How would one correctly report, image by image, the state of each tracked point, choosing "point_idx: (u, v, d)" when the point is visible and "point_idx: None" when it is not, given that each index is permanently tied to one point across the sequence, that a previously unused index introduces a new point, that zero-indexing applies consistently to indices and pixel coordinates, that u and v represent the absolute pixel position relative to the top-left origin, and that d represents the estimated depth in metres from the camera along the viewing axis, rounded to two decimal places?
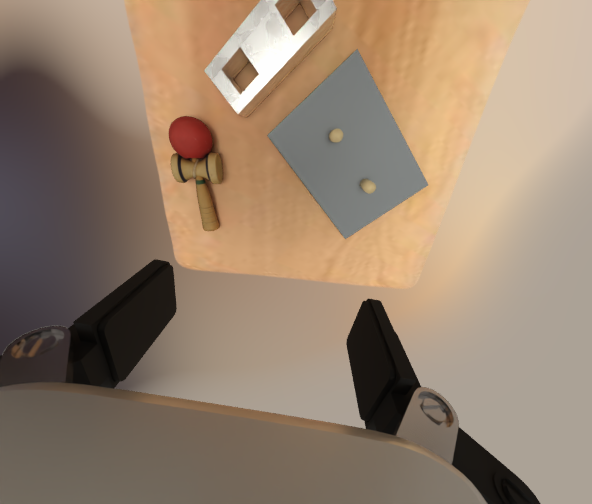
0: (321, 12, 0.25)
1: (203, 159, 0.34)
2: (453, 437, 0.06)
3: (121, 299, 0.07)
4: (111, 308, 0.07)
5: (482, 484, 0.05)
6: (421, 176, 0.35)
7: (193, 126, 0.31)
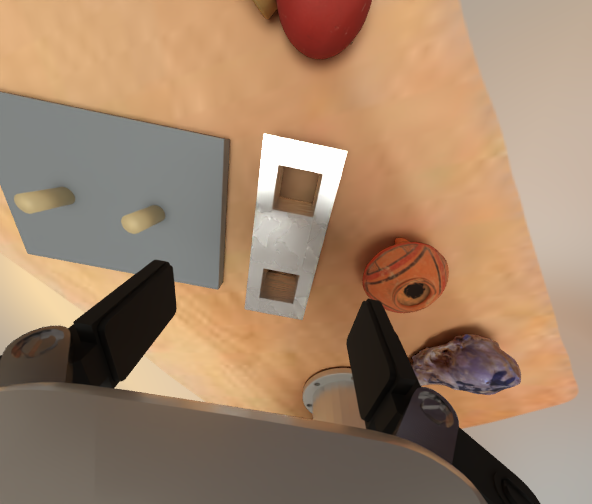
0: (254, 299, 0.22)
1: None
2: (453, 437, 0.06)
3: (121, 299, 0.07)
4: (111, 307, 0.07)
5: (482, 484, 0.05)
6: (44, 255, 0.25)
7: (319, 27, 0.13)
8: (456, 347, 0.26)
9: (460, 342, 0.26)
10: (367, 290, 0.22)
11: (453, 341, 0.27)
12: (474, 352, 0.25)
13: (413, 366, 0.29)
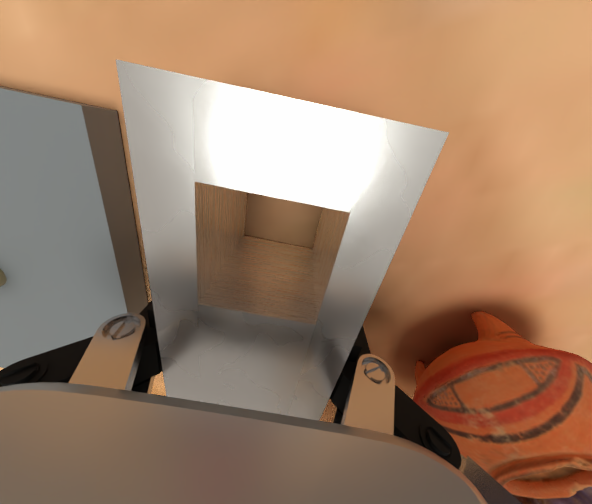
0: None
1: None
2: (392, 390, 0.07)
3: None
4: None
5: (412, 441, 0.06)
6: None
7: None
8: None
9: None
10: None
11: None
12: (588, 502, 0.14)
13: None
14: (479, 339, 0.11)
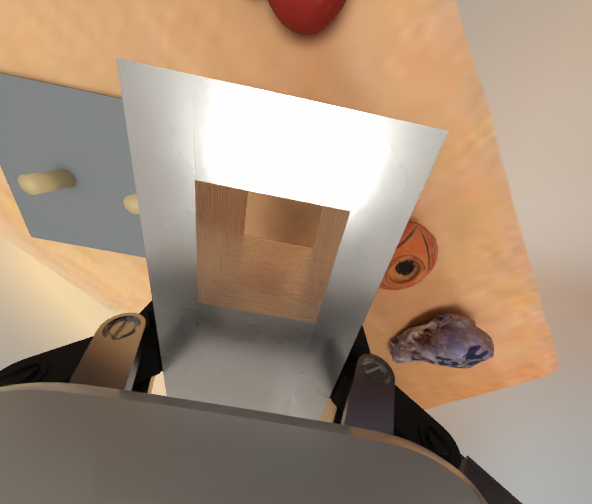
0: None
1: None
2: (392, 390, 0.07)
3: None
4: None
5: (411, 441, 0.06)
6: (47, 238, 0.26)
7: None
8: (436, 326, 0.28)
9: (439, 321, 0.28)
10: None
11: (433, 320, 0.28)
12: (452, 329, 0.27)
13: (397, 345, 0.31)
14: None
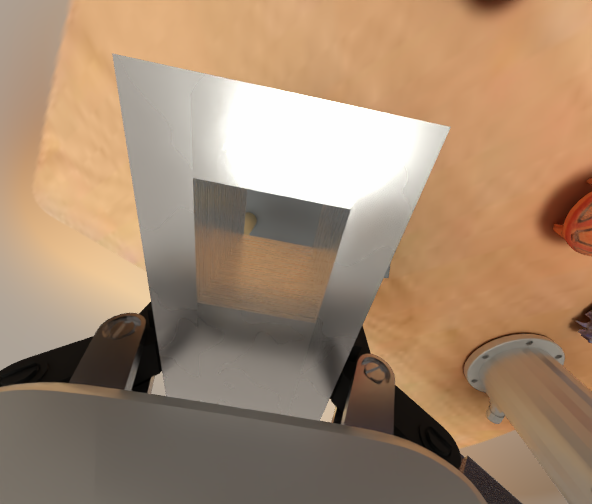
0: None
1: None
2: (392, 390, 0.07)
3: None
4: None
5: (411, 441, 0.06)
6: None
7: None
8: None
9: None
10: (576, 239, 0.20)
11: None
12: None
13: None
14: None
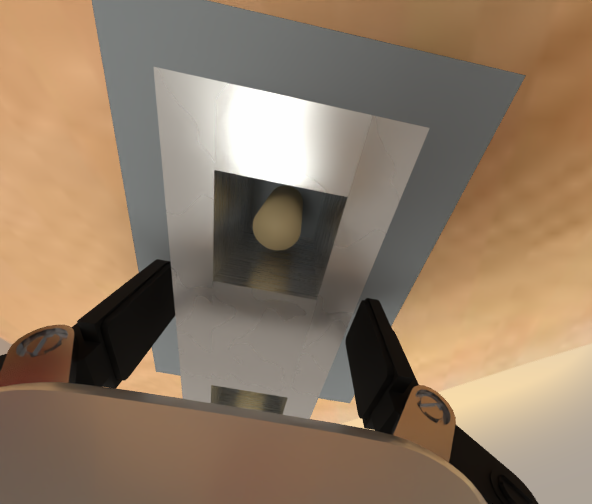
0: None
1: None
2: (451, 435, 0.06)
3: (124, 298, 0.07)
4: (114, 307, 0.07)
5: (478, 481, 0.05)
6: None
7: None
8: None
9: None
10: None
11: None
12: None
13: None
14: None
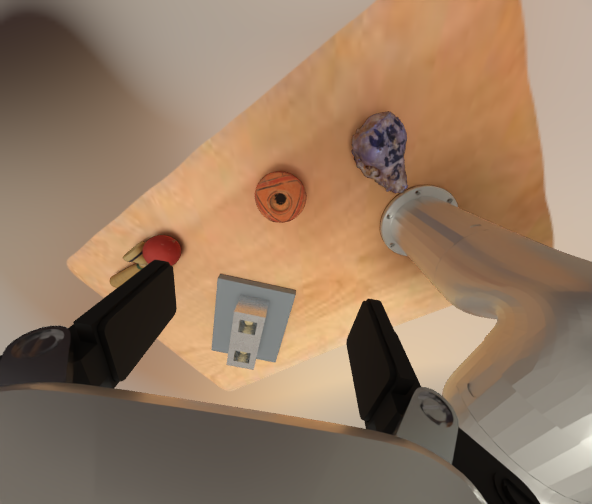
0: (231, 361, 0.47)
1: None
2: (453, 437, 0.06)
3: (121, 299, 0.07)
4: (111, 308, 0.07)
5: (482, 484, 0.05)
6: (275, 357, 0.54)
7: (168, 259, 0.38)
8: (361, 162, 0.32)
9: (356, 159, 0.32)
10: (287, 220, 0.35)
11: (356, 163, 0.33)
12: (359, 154, 0.31)
13: (385, 187, 0.34)
14: None
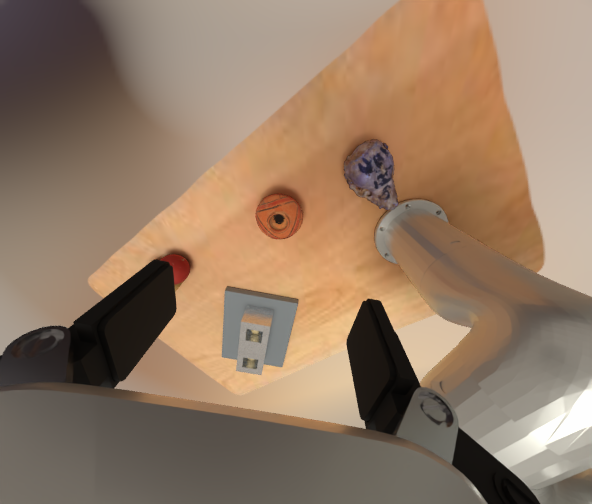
0: (240, 367, 0.51)
1: None
2: (453, 437, 0.06)
3: (121, 299, 0.07)
4: (111, 308, 0.07)
5: (482, 484, 0.05)
6: (282, 362, 0.57)
7: (179, 277, 0.42)
8: (353, 184, 0.35)
9: (348, 182, 0.35)
10: (286, 237, 0.38)
11: (349, 185, 0.35)
12: (351, 178, 0.33)
13: (378, 205, 0.37)
14: None
